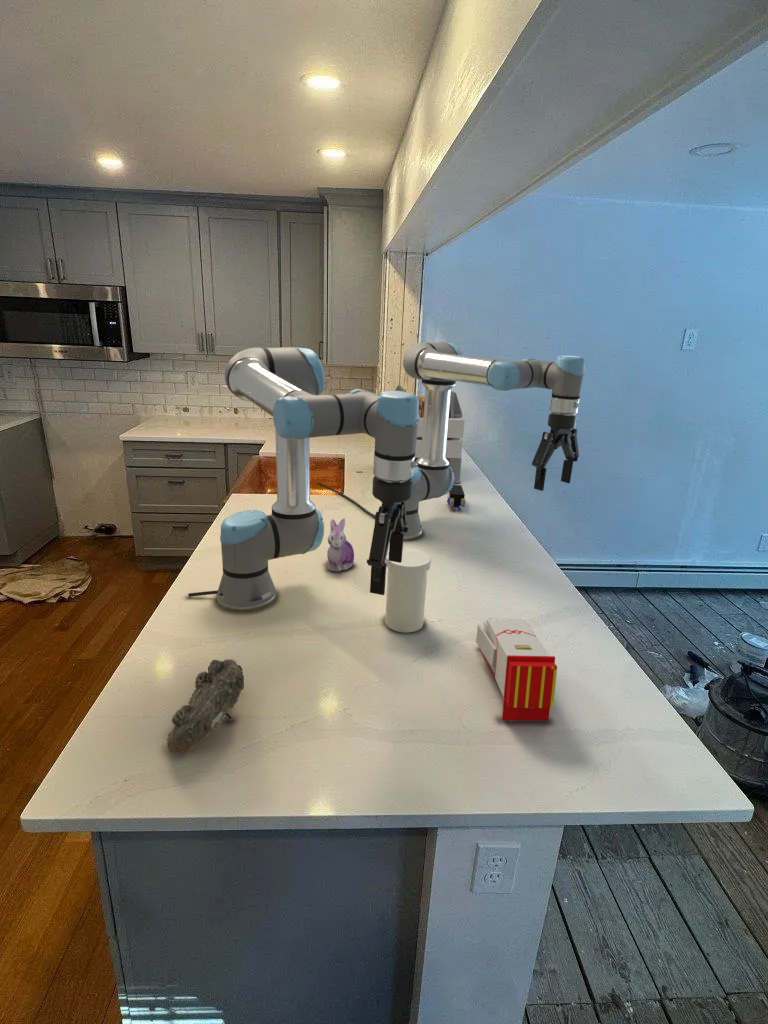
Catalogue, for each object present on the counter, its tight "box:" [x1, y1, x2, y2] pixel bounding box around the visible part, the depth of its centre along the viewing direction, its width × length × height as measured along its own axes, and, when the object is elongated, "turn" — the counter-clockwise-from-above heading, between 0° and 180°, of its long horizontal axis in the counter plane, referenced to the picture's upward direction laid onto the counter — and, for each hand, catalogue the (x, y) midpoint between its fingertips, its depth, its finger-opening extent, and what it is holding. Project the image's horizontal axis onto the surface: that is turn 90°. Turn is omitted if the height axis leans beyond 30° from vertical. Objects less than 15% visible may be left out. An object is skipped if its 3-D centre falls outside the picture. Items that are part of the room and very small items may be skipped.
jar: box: [384, 568, 428, 633], centre depth 141 cm, size 10×10×18 cm
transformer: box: [394, 384, 465, 484], centre depth 268 cm, size 34×33×41 cm
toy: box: [475, 618, 558, 722], centre depth 122 cm, size 12×13×30 cm
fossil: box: [166, 658, 245, 754], centre depth 106 cm, size 22×10×15 cm
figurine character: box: [446, 484, 466, 511], centre depth 229 cm, size 7×8×15 cm
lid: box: [385, 547, 432, 575], centre depth 138 cm, size 11×11×2 cm
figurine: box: [326, 517, 355, 572], centre depth 171 cm, size 9×10×15 cm
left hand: (386, 576), depth 114 cm, fingers open, 13 cm apart
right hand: (552, 485), depth 166 cm, fingers open, 13 cm apart
